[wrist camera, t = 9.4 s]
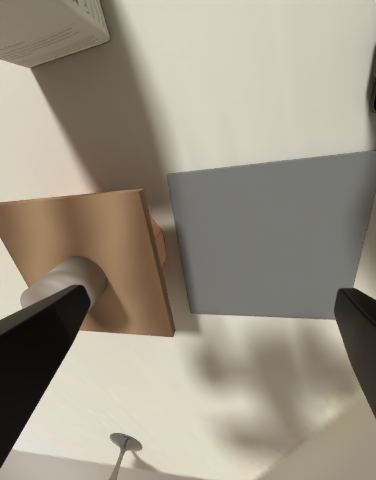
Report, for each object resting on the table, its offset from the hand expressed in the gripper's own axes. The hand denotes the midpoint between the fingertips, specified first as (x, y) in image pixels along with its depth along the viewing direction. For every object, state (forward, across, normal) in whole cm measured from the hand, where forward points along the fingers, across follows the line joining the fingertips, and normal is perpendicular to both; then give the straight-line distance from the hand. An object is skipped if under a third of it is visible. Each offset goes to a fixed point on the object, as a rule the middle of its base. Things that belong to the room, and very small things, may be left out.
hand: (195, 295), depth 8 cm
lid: (+8, +11, +4) cm, 14 cm away
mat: (+12, -4, +5) cm, 13 cm away
